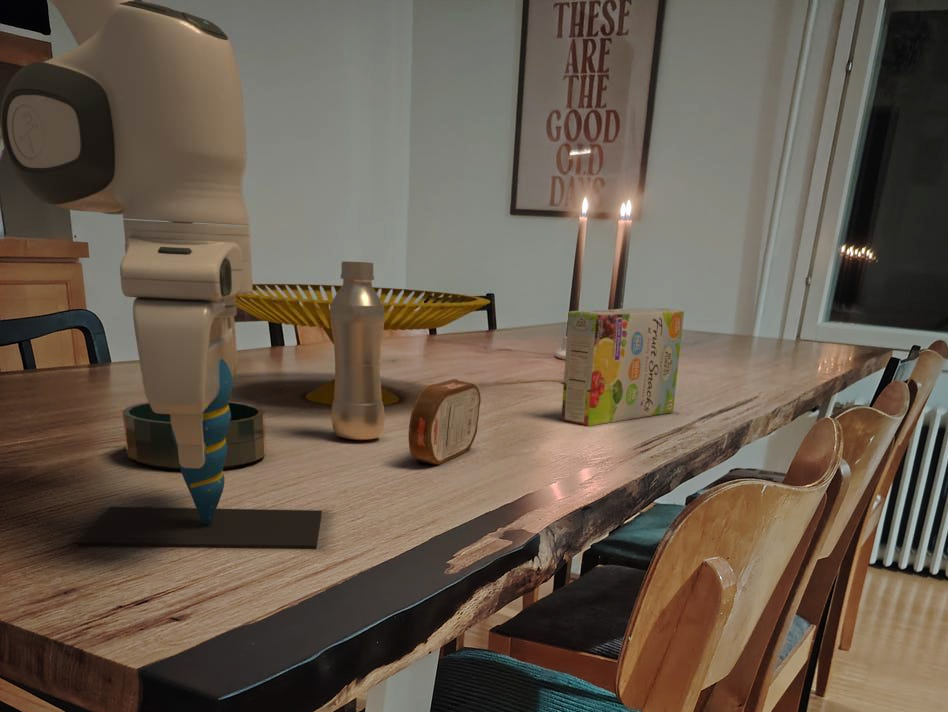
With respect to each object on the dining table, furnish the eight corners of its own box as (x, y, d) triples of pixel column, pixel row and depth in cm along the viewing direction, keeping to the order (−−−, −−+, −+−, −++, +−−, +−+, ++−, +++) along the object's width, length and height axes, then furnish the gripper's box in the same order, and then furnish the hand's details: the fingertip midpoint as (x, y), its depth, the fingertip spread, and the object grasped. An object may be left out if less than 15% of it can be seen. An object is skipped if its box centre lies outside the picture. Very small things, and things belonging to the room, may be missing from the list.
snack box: (644, 408, 145) (656, 306, 139) (674, 413, 142) (687, 310, 136) (557, 421, 131) (567, 308, 125) (589, 427, 128) (600, 312, 122)
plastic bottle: (346, 447, 108) (344, 262, 100) (321, 436, 113) (318, 260, 105) (394, 443, 112) (397, 264, 104) (369, 432, 117) (369, 261, 109)
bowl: (113, 472, 92) (107, 421, 90) (144, 442, 105) (139, 397, 103) (258, 475, 94) (256, 425, 92) (271, 445, 107) (269, 401, 105)
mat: (78, 547, 71) (77, 542, 71) (110, 511, 80) (110, 506, 80) (316, 550, 73) (316, 545, 73) (321, 514, 82) (321, 510, 82)
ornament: (188, 514, 79) (173, 329, 73) (248, 517, 79) (238, 333, 73) (167, 532, 74) (149, 336, 68) (231, 535, 74) (218, 339, 68)
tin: (458, 445, 112) (461, 373, 109) (482, 448, 111) (486, 376, 108) (404, 469, 99) (406, 389, 96) (431, 473, 98) (434, 392, 95)
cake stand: (477, 384, 160) (481, 291, 154) (496, 429, 123) (502, 309, 117) (240, 374, 156) (235, 279, 150) (185, 417, 119) (176, 294, 114)
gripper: (173, 260, 77) (185, 426, 83) (112, 269, 59) (133, 482, 64) (250, 263, 78) (257, 428, 84) (214, 274, 60) (226, 484, 65)
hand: (203, 452), depth 74 cm, fingers open, 8 cm apart
